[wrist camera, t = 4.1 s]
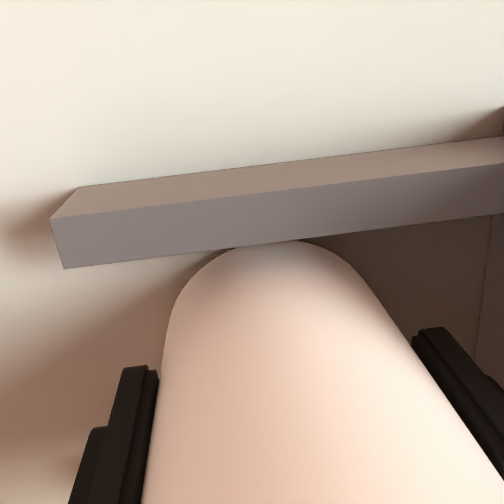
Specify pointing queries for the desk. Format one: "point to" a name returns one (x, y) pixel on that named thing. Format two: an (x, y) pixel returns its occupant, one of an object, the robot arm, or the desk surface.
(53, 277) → the desk surface
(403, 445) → the can
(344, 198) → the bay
